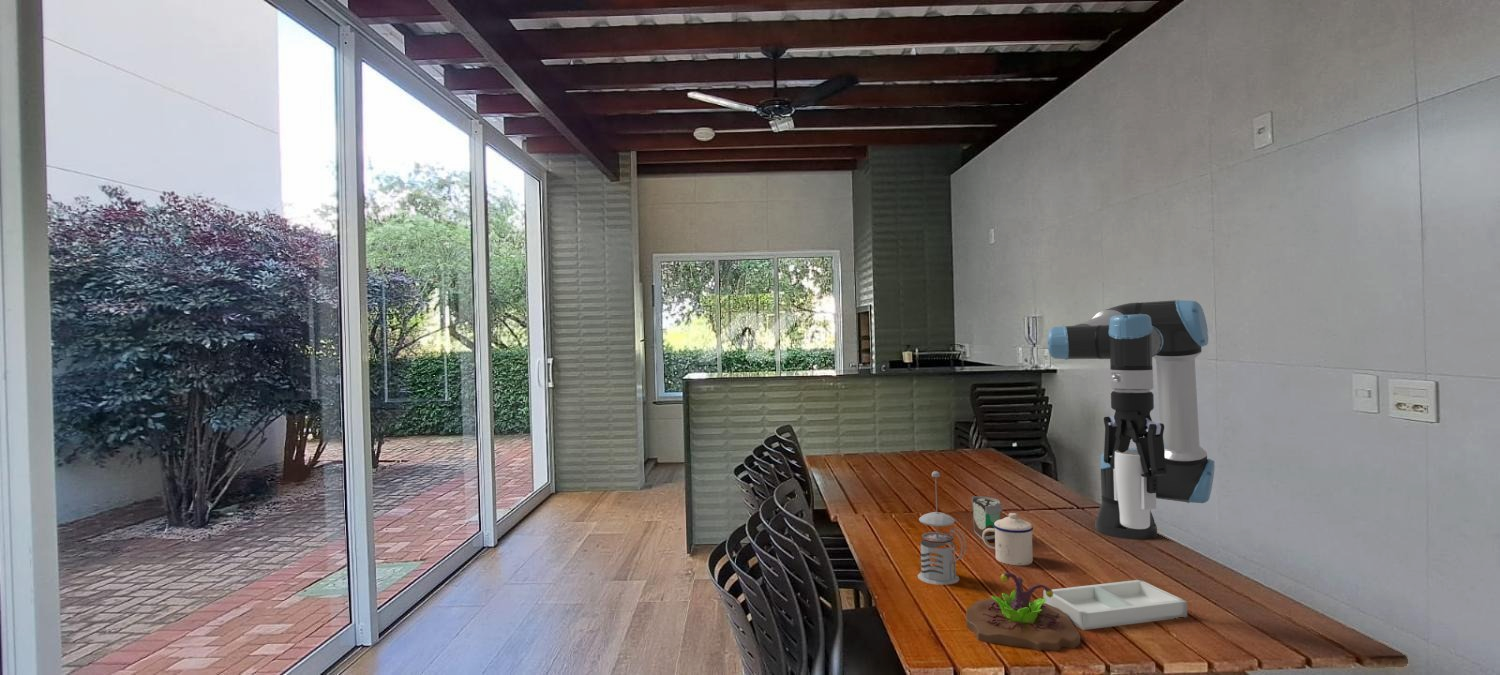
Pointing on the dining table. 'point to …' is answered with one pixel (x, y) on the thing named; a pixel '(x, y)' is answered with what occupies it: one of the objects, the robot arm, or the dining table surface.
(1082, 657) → the dining table surface
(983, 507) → the food container
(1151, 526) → the robot arm
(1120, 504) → the drinking glass
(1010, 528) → the teacup with lid
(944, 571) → the french press
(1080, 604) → the divided tray
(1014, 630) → the plant
